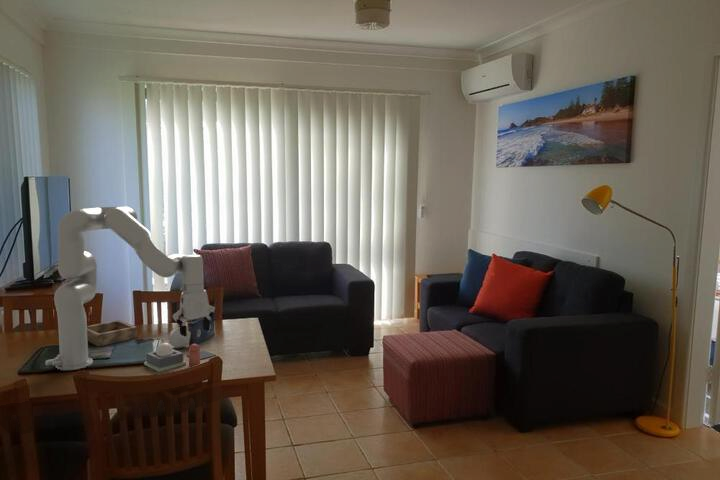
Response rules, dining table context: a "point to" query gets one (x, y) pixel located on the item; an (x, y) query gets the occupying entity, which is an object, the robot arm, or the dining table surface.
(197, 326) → the vhs cassette tape
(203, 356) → the coaster
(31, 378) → the dining table surface
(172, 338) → the die
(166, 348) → the popper dome
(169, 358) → the popper base
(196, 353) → the pawn
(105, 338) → the snack corral
